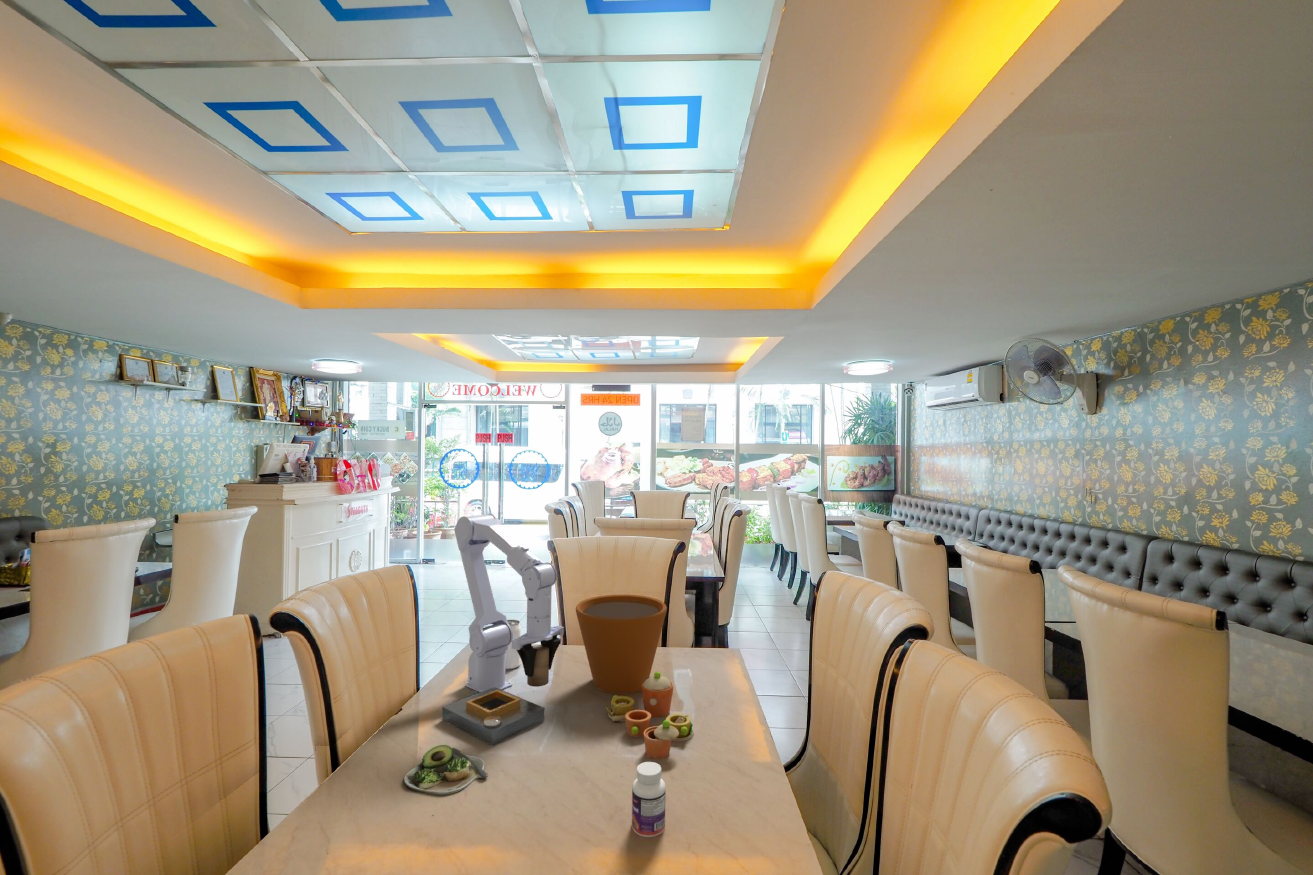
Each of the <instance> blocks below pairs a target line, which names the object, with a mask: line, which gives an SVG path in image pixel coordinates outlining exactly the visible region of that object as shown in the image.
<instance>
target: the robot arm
mask: <svg viewBox="0 0 1313 875" xmlns="http://www.w3.org/2000/svg"><path fill="white" fill-rule="evenodd" d="M453 531H454V535H455V538H456V544H457V548H458V551H459V552H460V556H461V557H460V558H461V561H462V566H463V570H464V573H465V574H464V575H465V578H466V582H467V586H468V590H469V594H470V599H471V604H472V607H473V611H474V615H475V618H474V619H473V621H472V622H470V623H471V624H470V625H469V626H468V632H469V633H468V634H469V638H468V639H469V640H468V643H469V647H470V649H471V651H472V652H471V654H470V655H469V658H468V661H467V662H468V664H467V665H468V667H467V668H468V669H467V683H464V686H465V687H467V688H468V689H471V690H473V691H475V692H478V693H480V692H483V691H485V690H488V689H490V688H493V687H496V688H498V689H501V690H503V691H504V690H505V689H508V688H510V687H512V686H513V683H512V682H509V681H507V680H506V669H505V657H506V650H508V645H509V644H510V643H511V642H512V649H514V650H517V652H518V654H519V656H520V658H521V664H522V666H523V671H524V674H525V676H529V677H532V676H533V673H534V661H535V656H536V653H537V649H535V648H533V646H534V644H536V643H540V645H545V646H548V647H549V671H550V670H551V668H552V665H553V662H554V659H555V656H556V655H555V654H556V652H557V650H558V648H559V647H560V645H561V643H562V641H561V640H562V639H561V638H559V637H558V636H560V637H562V636H563V635H564V634H565V633H564V632H565V627H564V626H561V625H556V626H552V587H553V586H554V585H555V584H556V582H557V577H558V573H557V570H556V568H555V566H554V565H553V564H552V562H549V561H547V562H545V561H543V560H541V559H540V558H539V557H538V556H536V555H535V554H534V553H533V552H532V551H531V550H530V547H529V546H527V545H523V544H519V545H518V544H517V543H516V542H515V541H514V540H513V538H512V537H511V536H510V535H509V534H508V533H507V532H506V531H505V530H504V529H503V528H502V524H501V520H500V519H499V518H498V517H497V516H496V515H495V514H494V513H487V514H480V515H479V514H478V515H470V516H465V515H464V516H461V517H459V518H458V519H457V523H456V525H455V526H454V529H453ZM490 543H491V544H493V545H494V546H495V548H497V549H498V550H499V551H501V552H502V553H503V554H504V555H506V563H507V564H508V565H509V566H510V567H511V568H512V569H513V570H515V572H516V573H518V575H519V576H520V577H521V582H522V585H523V587H524V592H525V593H524V595H525V597H526V632H525V633H523V634H521V636H520V637H518V638H516V639H514V640H512V639H513V632H512V629H511V627H510V625H509V624H508V622H507V620H508V619H507V616H506V615H505V614H503V613H502V612H500V611H499V610H497V606H496V601H495V598H494V593H493V591H492V585H491V583H490V578H489V573H488V571H487V566H486V562H485V559H484V558H485V557H484V554H483V552H484V550H485V548H486V547H487V546H488V545H489V544H490ZM488 625H489V626H488ZM485 626H486V627H485Z"/></svg>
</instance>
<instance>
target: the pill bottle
mask: <svg viewBox="0 0 1313 875" xmlns="http://www.w3.org/2000/svg"><path fill="white" fill-rule="evenodd" d="M631 794H632V795H631V797H632V798H631V828H632V831H633V832H634V833H635V834H637V835H638V836H640V837H645V838H651V837H657V836H660V835H661V834H662V833H663V832H664V831H665V829H666V783H665V780H663V778H662V766H661V765H660V764H658V763H657V762H654V761H653V762H652V761H644V762H641V763H640V764H638V765H637V767H636V779H634V781H633V783H632V790H631Z"/></svg>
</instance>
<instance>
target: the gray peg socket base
mask: <svg viewBox="0 0 1313 875" xmlns="http://www.w3.org/2000/svg"><path fill="white" fill-rule="evenodd" d="M441 713H442V718H441V720H442V722H445V723H447V724H448V725H450V726H453V727H454V728H455V729H458V730H460V731H463V733H466V734H468V735H469V736H472V737H474V738H476V739H477V740H480V741H481V742H484V743H486V744H487V743H488V745H489V746H491V745H492V747H493V746H495V745H497V744H499V743H501V742H503V741H505V740H508V739H509V738H511V737H513V736H516V735H518V734H520V733H522V732H524V731H526V730H528V729H531V728H532V727H534V726H537V725H539V724H542V723H543V722H545V707H543V706H541V705H539V704H536V703H534V702H531V701H529V700H527V699H525V698H522V697H519V696H517V695H515V694H512V693H511V692H508V691H505V690H504V689H503V690H501V689H498V688H496V687H493V688H490V689H488V690H485V691H483V692H478V693H475V694H473V695H472V694H471V695H470V696H467V697H464V698H462V699H460V700H457V701H454V702H451V703H449V704H447V705H444V706H442V712H441Z"/></svg>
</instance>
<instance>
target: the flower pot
mask: <svg viewBox="0 0 1313 875" xmlns="http://www.w3.org/2000/svg"><path fill="white" fill-rule="evenodd" d="M667 609H668V607H667V605H666V603H665V602H663V601H662V600H660V599H658V598H654V597H650V596H645V595H636V594H607V595H600V596H594V597H589V598H586V599H584V600H582V601H580V602H579V603H577V605H576V607H575V613H576V618H577V621H578V622H577V623H578V625H579V629H580V633H581V637H582V641H583V644H584V649H585V654H586V658H587V661H588V665H589V669H590V672H591V677H592V681H593V682H592V683H593V685H594V686H595V687H596V688H597V689H598V688H599V689H598V690H600V689H601V690H600V691H602V690H603V692H605V693H610V694H615V693H616V694H615V695H617V694H618V695H630V694H635V693H639V692H642V683H643V682H644V681H646V680H647V679H648V678H650V677H651V676H650V675H651V673H652V668H653V665H654V660H655V656H656V654H657V648H658V645H659V642H660V637H661V633H662V630H663V626H664V624H665V617H666V615H667V611H668V610H667Z"/></svg>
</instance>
